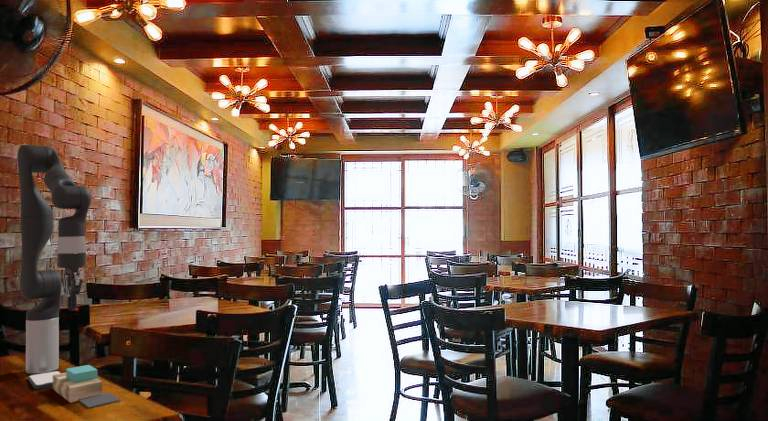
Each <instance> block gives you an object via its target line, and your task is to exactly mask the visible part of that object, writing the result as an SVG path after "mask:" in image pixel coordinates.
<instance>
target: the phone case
mask: <svg viewBox="0 0 768 421" xmlns="http://www.w3.org/2000/svg"><path fill="white" fill-rule="evenodd" d="M56 374H61V372H60V370H59V371H56V370H54V371H50V372H45V373H36V374H30V375H29V376H28V377H27V380H28V382H29V384H30V385H31V386H32V388H33V389H34V390H36V391H37V390H44V389H48V388H49V389H50V388H53V375H56Z"/></svg>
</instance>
